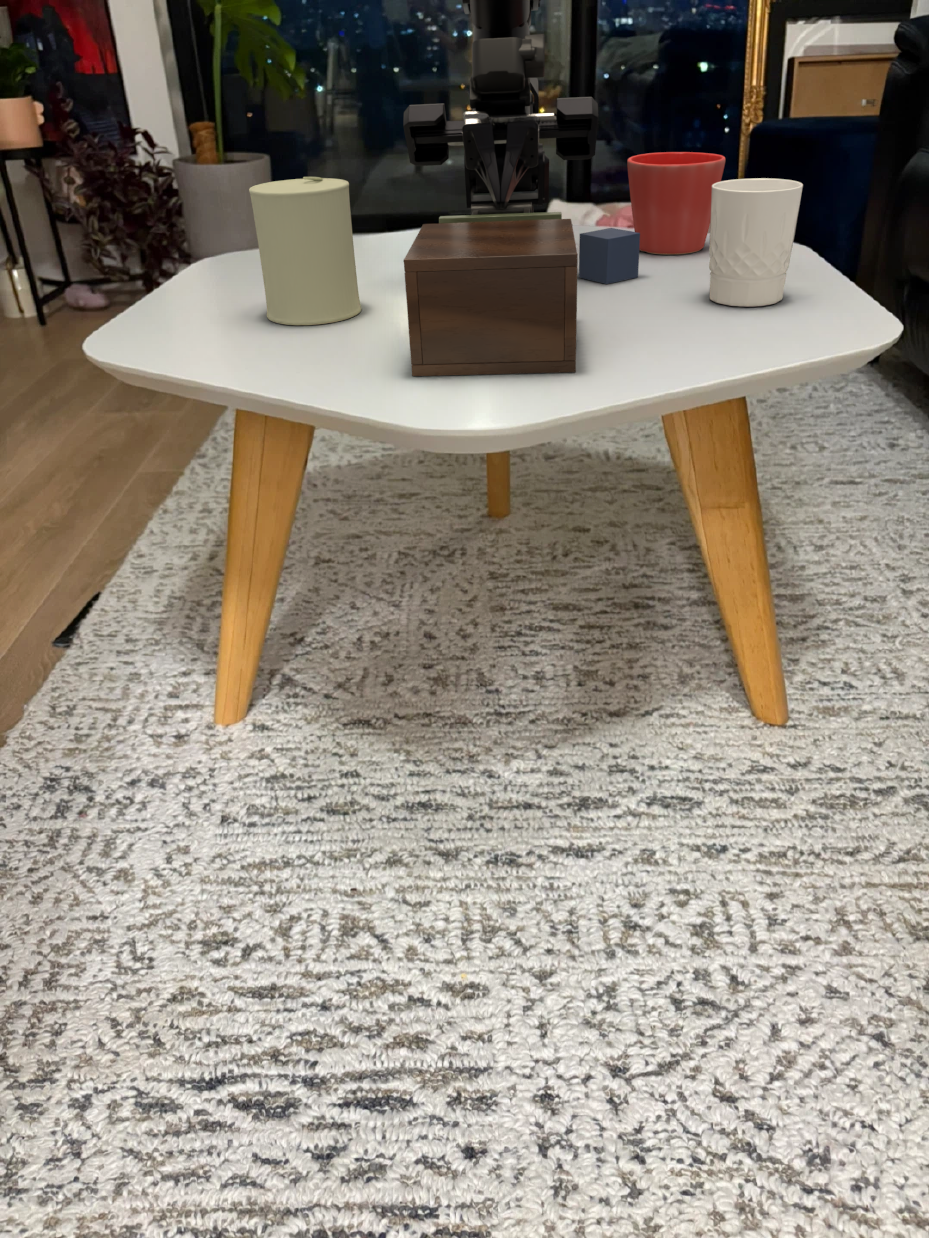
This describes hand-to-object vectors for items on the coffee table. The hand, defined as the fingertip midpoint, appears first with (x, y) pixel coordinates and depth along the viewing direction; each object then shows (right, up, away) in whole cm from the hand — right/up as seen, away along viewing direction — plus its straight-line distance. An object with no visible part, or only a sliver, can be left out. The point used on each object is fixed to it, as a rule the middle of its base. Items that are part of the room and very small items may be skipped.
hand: (500, 206), depth 94 cm
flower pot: (+21, +3, +20) cm, 29 cm away
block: (+12, -4, +9) cm, 15 cm away
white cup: (+23, -10, -1) cm, 25 cm away
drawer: (0, -9, -1) cm, 10 cm away
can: (-18, -10, +1) cm, 21 cm away
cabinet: (-1, -17, -12) cm, 21 cm away
